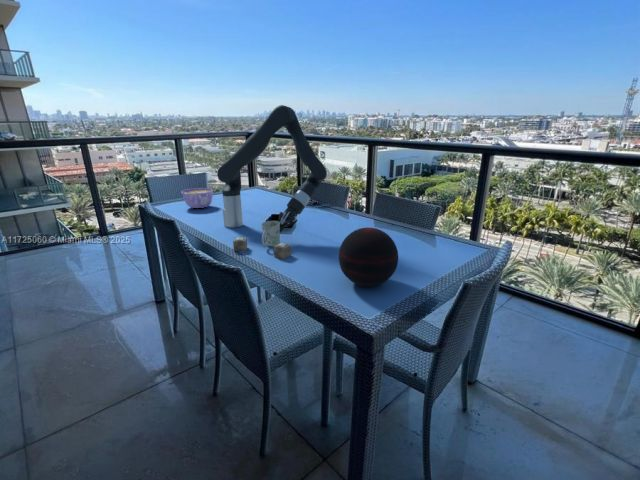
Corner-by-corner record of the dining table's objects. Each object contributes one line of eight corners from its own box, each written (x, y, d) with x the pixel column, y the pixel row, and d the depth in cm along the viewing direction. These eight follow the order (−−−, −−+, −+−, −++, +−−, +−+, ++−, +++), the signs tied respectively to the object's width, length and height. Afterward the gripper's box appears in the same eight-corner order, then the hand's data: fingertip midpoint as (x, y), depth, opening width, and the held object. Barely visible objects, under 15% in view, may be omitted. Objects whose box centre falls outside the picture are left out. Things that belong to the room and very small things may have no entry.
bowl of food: (209, 211, 210) (207, 193, 206) (178, 211, 210) (175, 193, 206) (219, 204, 229) (217, 187, 225) (190, 204, 229) (188, 187, 225)
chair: (305, 206, 222) (304, 173, 215) (292, 201, 236) (291, 170, 228) (320, 203, 229) (320, 172, 222) (307, 199, 243) (306, 169, 235)
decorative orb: (357, 303, 102) (359, 242, 95) (328, 277, 119) (328, 224, 112) (408, 289, 110) (413, 233, 103) (374, 267, 127) (377, 217, 120)
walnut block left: (234, 252, 143) (232, 240, 141) (236, 248, 148) (235, 236, 146) (245, 251, 143) (244, 240, 141) (247, 247, 148) (246, 236, 146)
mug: (284, 241, 154) (282, 221, 150) (272, 252, 143) (270, 230, 139) (269, 239, 156) (266, 220, 153) (256, 250, 146) (253, 229, 142)
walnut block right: (274, 257, 137) (273, 245, 135) (281, 253, 141) (281, 241, 139) (283, 259, 135) (283, 247, 133) (291, 255, 139) (290, 244, 137)
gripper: (286, 195, 155) (264, 224, 152) (301, 199, 145) (279, 231, 142) (295, 204, 160) (275, 232, 157) (311, 209, 150) (290, 240, 147)
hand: (277, 232), depth 150 cm, fingers closed
